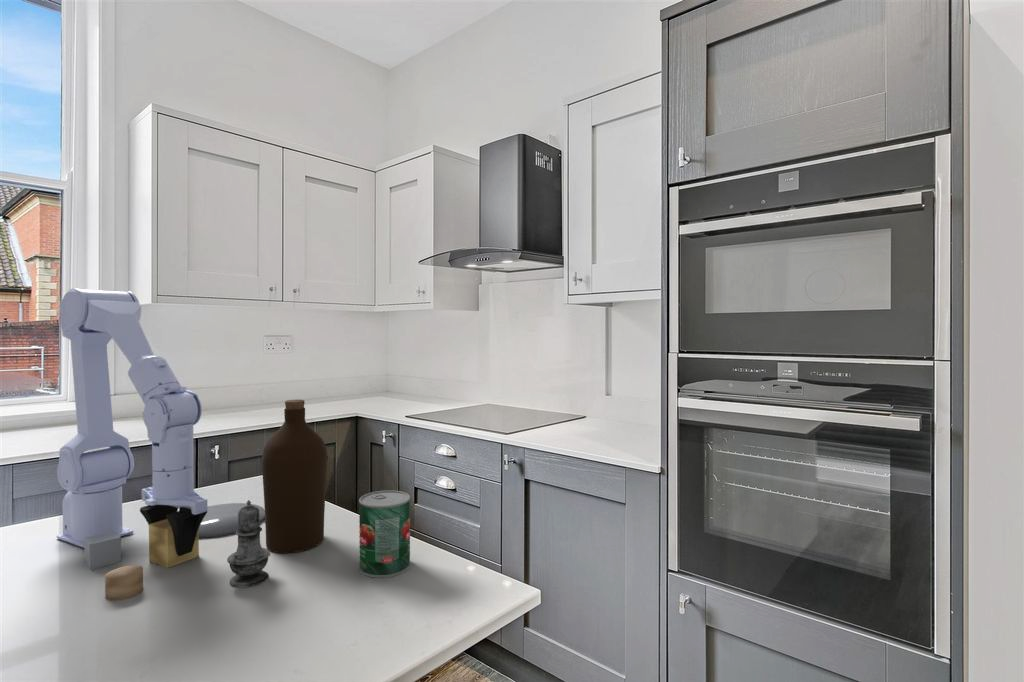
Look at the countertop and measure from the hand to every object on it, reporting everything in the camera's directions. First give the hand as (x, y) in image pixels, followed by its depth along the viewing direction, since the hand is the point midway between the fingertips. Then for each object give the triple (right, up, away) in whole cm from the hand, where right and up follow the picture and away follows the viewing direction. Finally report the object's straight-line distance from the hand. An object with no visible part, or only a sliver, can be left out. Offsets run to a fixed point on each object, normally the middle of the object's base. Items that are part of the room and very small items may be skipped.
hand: (174, 550), depth 89 cm
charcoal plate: (-2, -1, +17) cm, 17 cm away
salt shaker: (+16, -2, -7) cm, 17 cm away
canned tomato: (+35, -2, -2) cm, 35 cm away
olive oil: (+17, -2, +7) cm, 19 cm away
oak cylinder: (0, -2, -11) cm, 11 cm away
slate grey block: (-11, -2, -1) cm, 11 cm away
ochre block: (0, -1, 0) cm, 1 cm away
